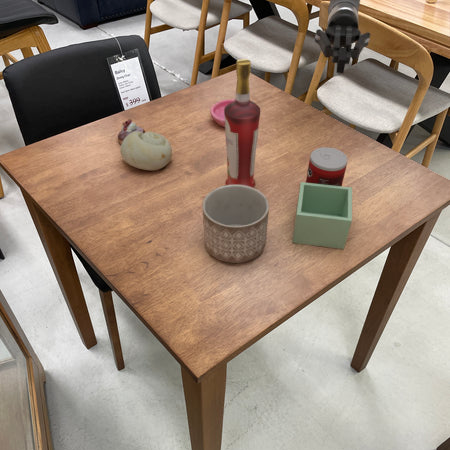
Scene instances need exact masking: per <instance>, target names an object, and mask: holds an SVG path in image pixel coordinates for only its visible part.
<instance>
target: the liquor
mask: <svg viewBox="0 0 450 450" xmlns="http://www.w3.org/2000/svg"><path fill="white" fill-rule="evenodd" d="M235 65H236V67H235V68H236V69H235V70H236V71H235V73H236V89H235V96H234V97H235V101H232V102H231V103H229V104H228V105H227V106H226V107H225V108H224V115H225V127H224V134H225V147H226V169H227V171H226V172H227V173H226V175H227V178H226V180H225V185H246V186H250V187H253V188H255V186H256V180H255V179H254V178H255V177H254V176H255V163H256V155H257V146H258V139H259V138H258V137H259V129H260V119H261V108H260V106H259V105H258V104H256V102H254V101H252V100H251V97H250V96H251V95H250V93H251V92H250V75H251V68H252V67H251V66H252V62H251V60H250V59H248V58H247V59H246V58H240V59H237V60H236V63H235Z"/></svg>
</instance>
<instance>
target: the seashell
mask: <svg viewBox="0 0 450 450" xmlns="http://www.w3.org/2000/svg"><path fill="white" fill-rule="evenodd" d="M145 132H146V133H142V132H139V131H136V132H132V133H130V134H129V135H127V136H126V137H125V139H124V140H123V142H122V144H120V149H119V150H120V151H119V152H120V156H121V158H122V160H123V161H124V162H125V163H126V164H127V165H129V166H132V167H134V168H136V169H139V170H144V171H158V170H160V169H163V168H164V167H166V166H167V165H168V164H169V163H170V161H171V159H172V155H173V149H172V145H171V143H170V141H169V140H168V139H167V138H166V137H165V136H164V135H162V134H160V133H158V132H153V131H145Z"/></svg>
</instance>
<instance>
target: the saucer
mask: <svg viewBox="0 0 450 450" xmlns="http://www.w3.org/2000/svg"><path fill="white" fill-rule="evenodd" d="M232 101H235V99H233V98H231V99H222V100H220V101H217V102H216V103H214V104H213V105H212V106H211V107H210V111H209V112H210V116H211V118H212V119H213V121H214V122H216V124H217V125H219V127H221V128H225V115H224V108H225V107H226V106H227V105H228V104H229V103H231V102H232Z"/></svg>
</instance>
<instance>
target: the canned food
mask: <svg viewBox="0 0 450 450" xmlns="http://www.w3.org/2000/svg"><path fill="white" fill-rule="evenodd" d="M347 166H348V156H347V155H346V153H344V152H343V151H341V150H340V149H337V148H334V147H329V146H328V147H327V146H326V147H324V146H322V147H318V148H316V149H314V150H313V151H311V153H310V156H309V160H308V167H307V173H306V178H305V183H314V184H323V185H333V186H342V187H343V183H344V178H345V174H346V171H347Z"/></svg>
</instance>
